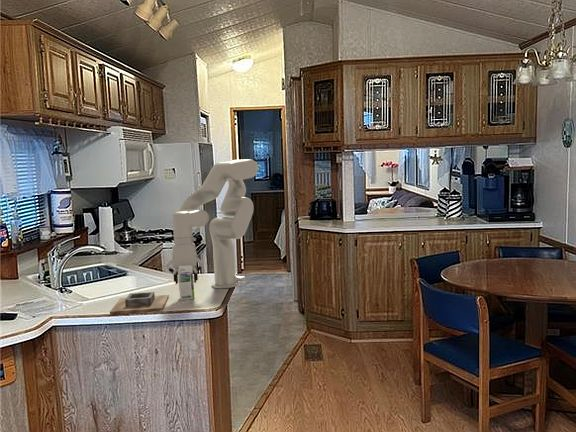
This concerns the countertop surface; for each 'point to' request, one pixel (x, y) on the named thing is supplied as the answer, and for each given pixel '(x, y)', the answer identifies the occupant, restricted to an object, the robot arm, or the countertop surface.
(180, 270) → the syrup box
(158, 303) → the socket stand
